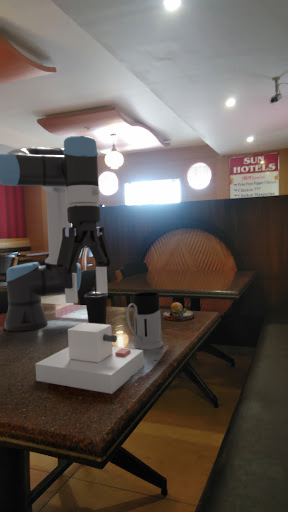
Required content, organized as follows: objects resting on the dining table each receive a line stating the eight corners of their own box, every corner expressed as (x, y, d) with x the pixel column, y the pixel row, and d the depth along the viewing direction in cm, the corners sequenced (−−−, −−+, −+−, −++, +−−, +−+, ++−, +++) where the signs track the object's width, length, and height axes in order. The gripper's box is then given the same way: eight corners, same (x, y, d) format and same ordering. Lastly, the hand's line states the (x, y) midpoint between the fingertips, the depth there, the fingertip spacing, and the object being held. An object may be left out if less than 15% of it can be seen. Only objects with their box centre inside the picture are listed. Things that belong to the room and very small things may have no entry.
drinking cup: (105, 339, 111) (102, 276, 109) (82, 339, 112) (79, 276, 111) (112, 332, 118) (109, 273, 117) (91, 332, 120) (87, 273, 119)
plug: (70, 376, 83) (67, 329, 83) (85, 366, 89) (83, 322, 89) (110, 382, 79) (107, 333, 78) (123, 371, 85) (121, 325, 84)
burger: (199, 316, 137) (198, 297, 136) (181, 323, 128) (180, 302, 128) (175, 312, 145) (174, 294, 144) (156, 318, 136) (155, 299, 136)
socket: (36, 380, 82) (35, 360, 81) (76, 357, 96) (75, 339, 96) (112, 393, 73) (110, 371, 73) (143, 365, 88) (142, 347, 87)
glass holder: (168, 342, 106) (166, 292, 105) (142, 357, 94) (140, 301, 93) (144, 338, 110) (142, 291, 109) (116, 352, 99) (113, 299, 98)
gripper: (64, 201, 69) (70, 309, 71) (122, 207, 91) (125, 289, 93) (34, 204, 72) (40, 307, 74) (97, 209, 95) (101, 288, 96)
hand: (88, 297), depth 83 cm, fingers open, 12 cm apart
